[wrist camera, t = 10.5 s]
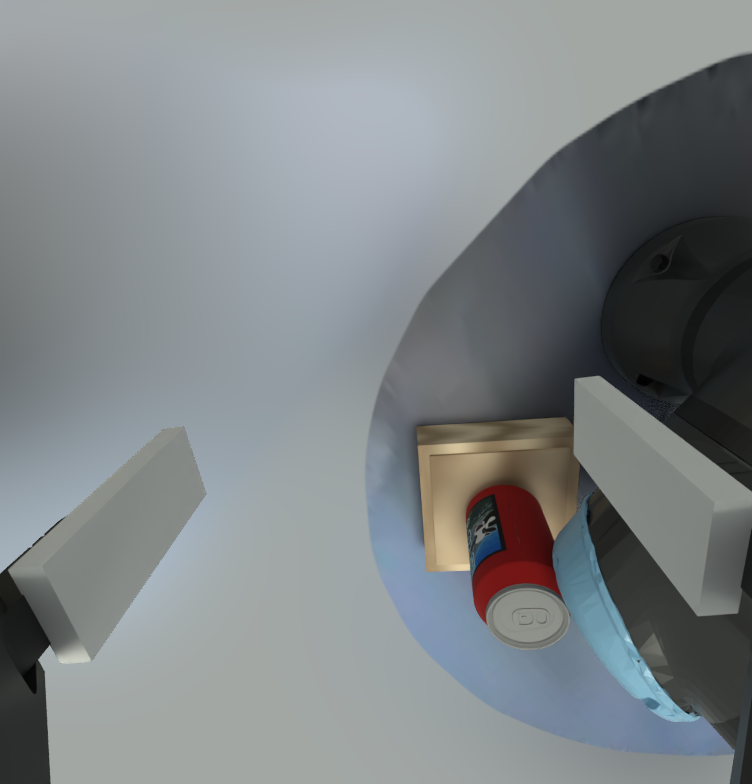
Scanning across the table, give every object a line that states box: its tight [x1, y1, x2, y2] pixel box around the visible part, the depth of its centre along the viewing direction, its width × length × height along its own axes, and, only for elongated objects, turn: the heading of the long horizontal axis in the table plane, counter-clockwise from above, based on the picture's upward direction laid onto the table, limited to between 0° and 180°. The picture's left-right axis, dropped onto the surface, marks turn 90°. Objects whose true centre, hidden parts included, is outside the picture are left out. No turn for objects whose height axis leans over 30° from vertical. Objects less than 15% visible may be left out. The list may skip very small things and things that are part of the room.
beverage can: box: [466, 485, 571, 650], centre depth 35 cm, size 7×7×12 cm
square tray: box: [416, 417, 580, 572], centre depth 43 cm, size 14×14×4 cm
